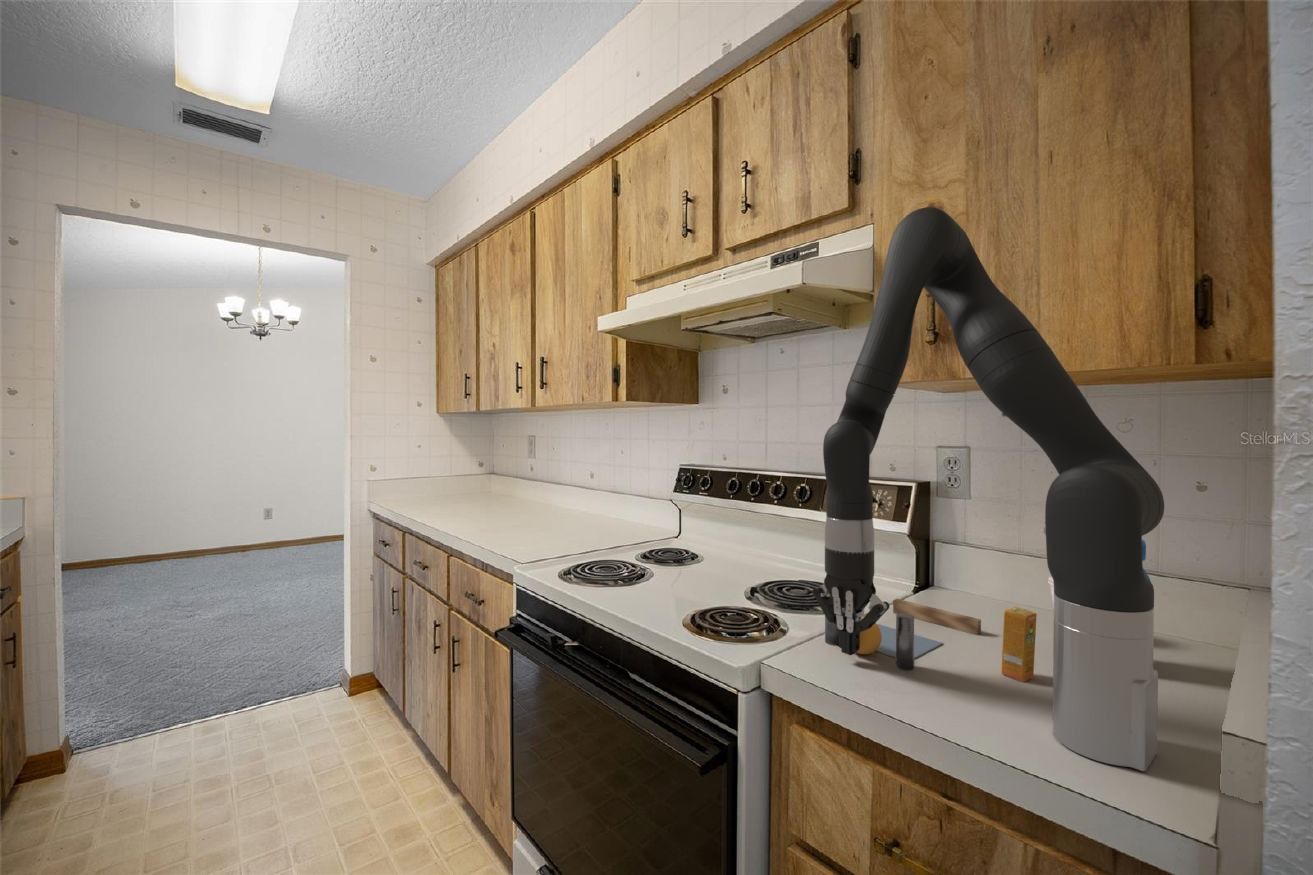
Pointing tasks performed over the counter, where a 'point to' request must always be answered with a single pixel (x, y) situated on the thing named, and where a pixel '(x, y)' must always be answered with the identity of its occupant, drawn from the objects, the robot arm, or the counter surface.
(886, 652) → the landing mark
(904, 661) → the post inner
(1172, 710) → the counter surface
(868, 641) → the ball
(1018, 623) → the supplement box
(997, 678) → the counter surface
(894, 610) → the wall
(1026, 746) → the counter surface
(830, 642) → the post outer
